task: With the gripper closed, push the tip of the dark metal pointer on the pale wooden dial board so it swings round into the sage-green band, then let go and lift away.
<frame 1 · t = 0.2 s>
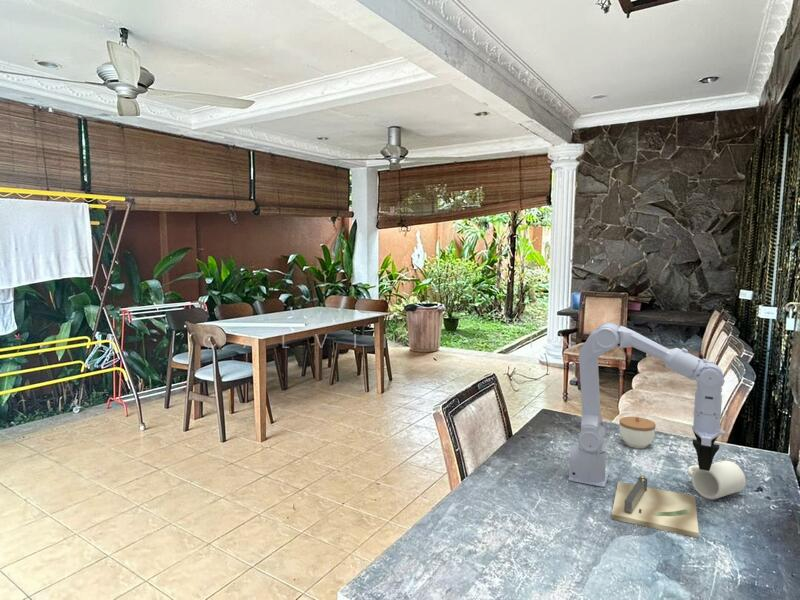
hand: (704, 464, 129), 10 cm above the table, tool pointing down, fingers open, 7 cm apart
pointer: (636, 492, 129), point 3 cm above the table, hinge at -10.0°
lidded jar: (636, 445, 168), on the table
mug: (710, 491, 136), on the table
dial board: (654, 509, 126), on the table
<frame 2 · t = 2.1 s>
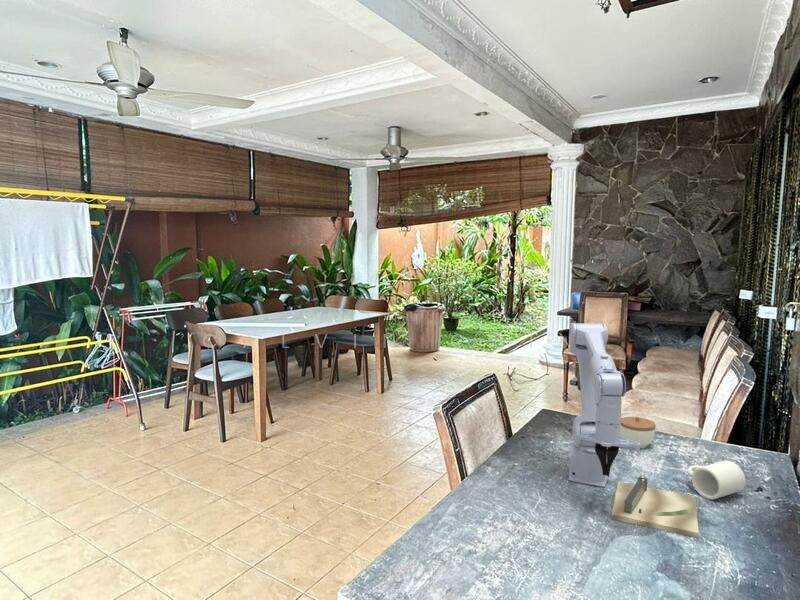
hand: (606, 474, 128), 8 cm above the table, tool pointing down, fingers closed
nothing on the table moved.
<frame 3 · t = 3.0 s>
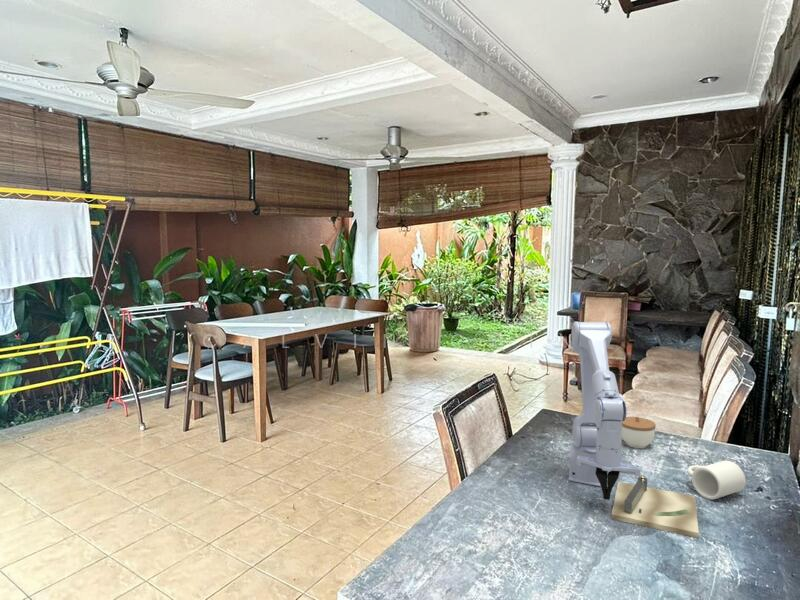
hand: (606, 497, 128), 2 cm above the table, tool pointing down, fingers closed
nothing on the table moved.
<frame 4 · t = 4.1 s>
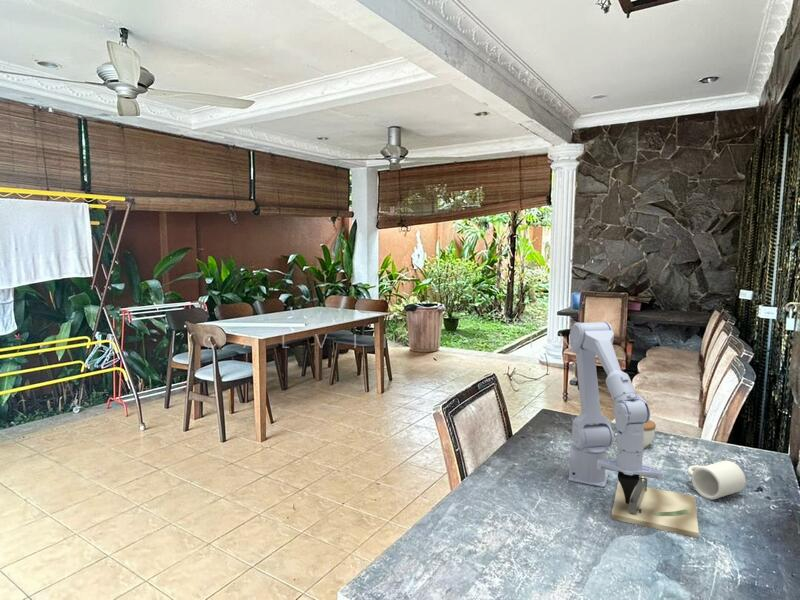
hand: (627, 501, 126), 2 cm above the table, tool pointing down, fingers closed
pointer: (638, 493, 128), point 3 cm above the table, hinge at -5.7°, touching gripper
everything else where it was.
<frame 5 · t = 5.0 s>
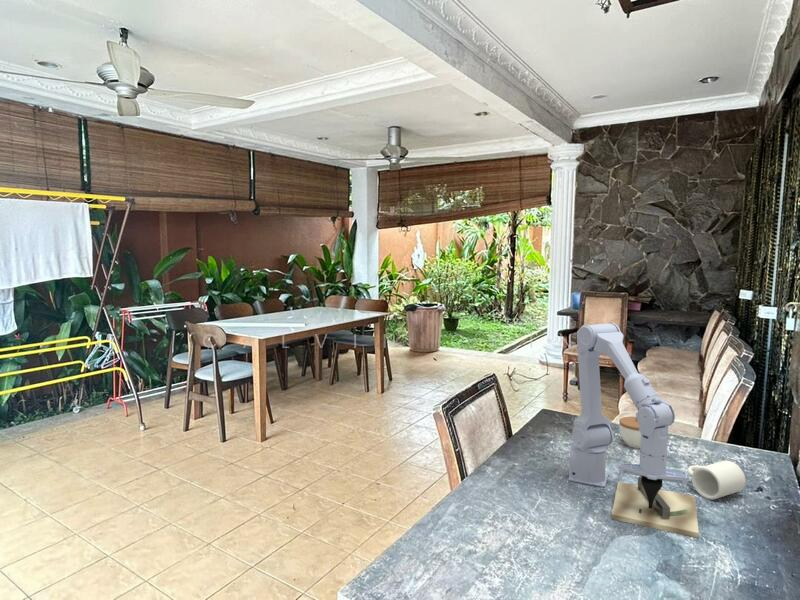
hand: (650, 506, 124), 2 cm above the table, tool pointing down, fingers closed
pointer: (652, 495, 127), point 3 cm above the table, hinge at 21.6°, touching gripper
everything else where it was.
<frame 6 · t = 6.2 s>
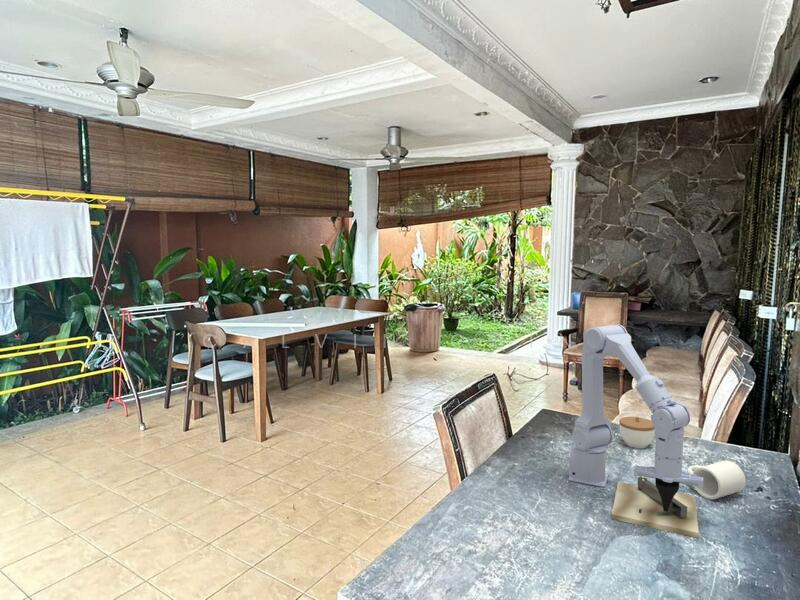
hand: (665, 509, 122), 2 cm above the table, tool pointing down, fingers closed
pointer: (660, 495, 127), point 3 cm above the table, hinge at 37.7°, touching gripper
everything else where it was.
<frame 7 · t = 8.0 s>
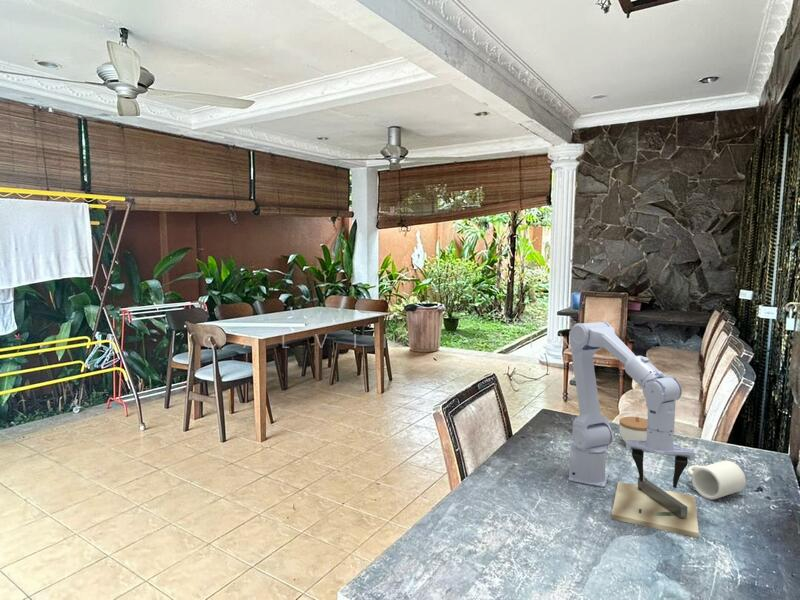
hand: (657, 483, 122), 8 cm above the table, tool pointing down, fingers open, 6 cm apart
pointer: (660, 495, 127), point 3 cm above the table, hinge at 38.0°
everything else where it was.
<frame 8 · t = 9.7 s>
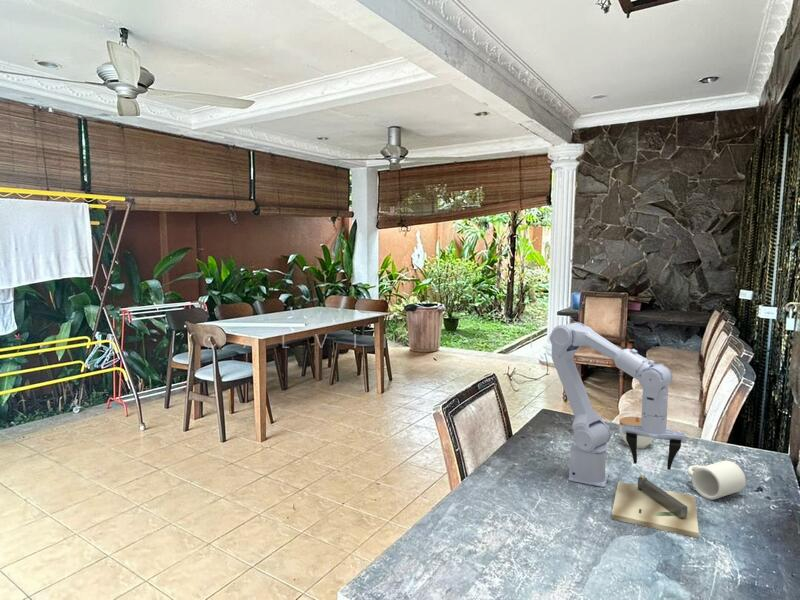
hand: (651, 465, 130), 9 cm above the table, tool pointing down, fingers open, 7 cm apart
nothing on the table moved.
at the end: pointer at +38° (first picture: -10°); mug moved 0.3 cm from its start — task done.
